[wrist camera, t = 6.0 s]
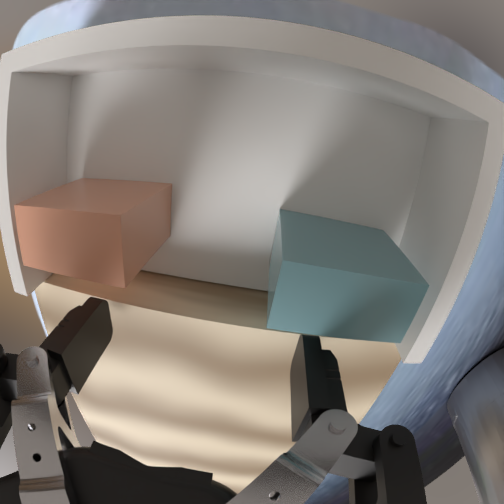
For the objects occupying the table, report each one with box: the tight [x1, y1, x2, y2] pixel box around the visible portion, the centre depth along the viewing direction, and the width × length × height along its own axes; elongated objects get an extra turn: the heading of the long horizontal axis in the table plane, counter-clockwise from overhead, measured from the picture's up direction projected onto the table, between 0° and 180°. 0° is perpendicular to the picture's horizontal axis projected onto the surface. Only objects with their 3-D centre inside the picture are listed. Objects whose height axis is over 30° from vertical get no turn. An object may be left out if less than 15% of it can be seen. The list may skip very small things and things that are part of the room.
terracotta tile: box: [14, 178, 172, 288], centre depth 11 cm, size 5×5×2 cm
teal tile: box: [266, 209, 429, 343], centre depth 11 cm, size 5×5×2 cm
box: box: [0, 15, 504, 363], centre depth 11 cm, size 11×19×5 cm, turn 82°
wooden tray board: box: [35, 270, 401, 494], centre depth 20 cm, size 30×19×4 cm, turn 172°
